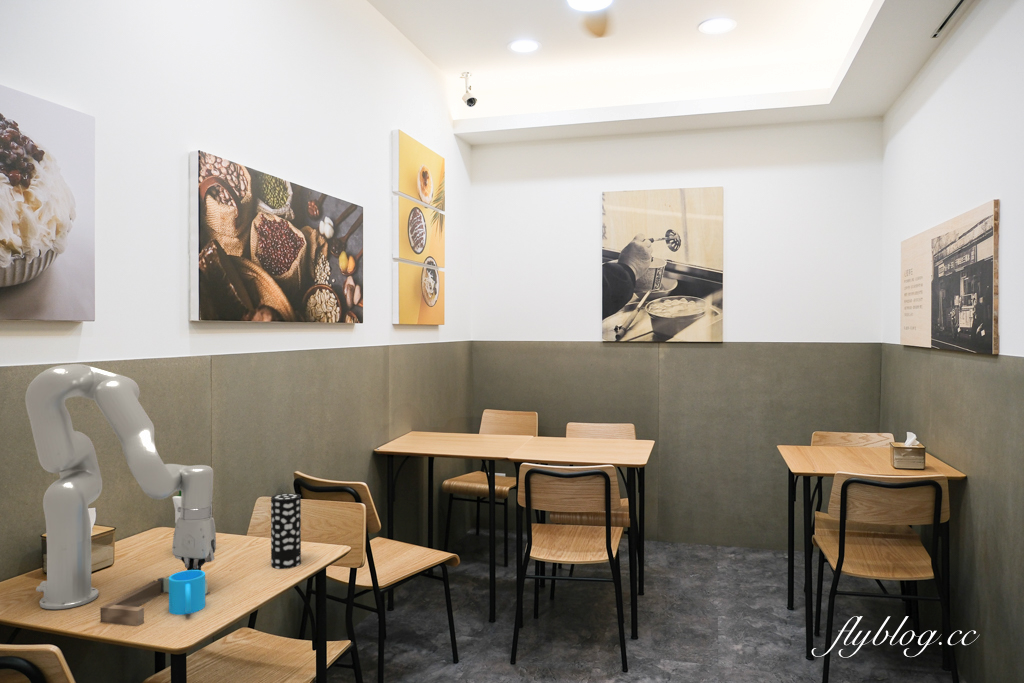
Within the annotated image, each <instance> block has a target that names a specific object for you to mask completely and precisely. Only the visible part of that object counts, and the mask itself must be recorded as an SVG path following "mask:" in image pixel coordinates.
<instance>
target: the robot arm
mask: <svg viewBox="0 0 1024 683" xmlns="http://www.w3.org/2000/svg"><path fill="white" fill-rule="evenodd" d="M139 387H140V386H139V385H138V383H137V382H136V381H135V380H133V379H132V378H130V377H129V376H125V375H122V374H118V373H115V372H111V371H108V370H104V369H101V368H98V367H95V366H90V365H87V364H83V363H72V364H71V363H70V364H62V365H60V364H59V365H56V366H52V367H50V368H47V369H45V370H44V371H42V372H40V373H39V374H37V375H36V376H35V377H34V378H33V380H31V382H30V383H29V385H28V387H27V390H26V391H25V397H24V398H25V407H26V411H27V415H28V419H29V423H30V427H31V432H32V433H31V434H32V436H33V441H34V445H35V449H36V454H37V458H38V462H39V464H40V466H41V467H42V469H43V470H45V471H46V472H48V473H52V474H59V479H56V480H55V481H54V482H52V483H51V484H50V485H49V486H48V488H47V489H46V491H45V492H44V496H43V498H42V499H43V500H42V508H43V513H44V519H45V529H46V580H42V581H41V582H40V584H39V585H38V586H36V589H35V591H36V592H38V593H39V592H41V593H43V597H42V598H41V599H39V606H40V608H42V609H45V610H64V609H71V608H75V607H79V606H83V605H86V604H89V603H91V602H92V601H94V600H95V599H97V598H98V597H99V590H98V589H97V588H95V587H93V586H92V523H91V517H90V513H89V505H91V504H92V503H94V502H95V501H96V500H97V499H99V497H100V495H101V493H102V491H103V479H102V474H101V470H100V465H99V462H98V457H97V454H96V453H97V452H96V449H95V446H94V443H93V442H92V440H91V439H90V437H89V436H88V435H86V434H85V433H83V432H81V431H79V430H78V431H77V430H74V426H73V421H72V418H71V414H70V412H69V410H68V408H67V406H66V400H68V399H69V398H75V397H81V398H84V399H88V400H93V401H94V402H95V404H96V406H97V407H98V409H99V410H100V412H101V413H102V415H103V416H104V418H105V420H106V422H107V423H108V424H109V426H110V427H111V429H112V430H113V433H114V434H115V436H116V437H117V439H118V441H119V442H120V444H121V448H122V452H123V455H124V457H125V460H126V463H127V466H128V468H129V471H130V472H131V475H132V476H133V478H134V479H135V481H136V482H137V483H138V486H140V488H141V489H142V492H144V493H145V494H146V495H147V496H148V497H150V498H151V499H153V500H165V499H166V498H169V497H171V496H172V495H173V494H174V493H176V492H179V490H181V492H182V493H181V507H178V509H177V511H178V512H180V516H181V517H179V518H178V519H177V522H176V526H175V525H174V531H173V536H172V537H173V538H172V546H171V548H172V549H171V552H172V555H174V558H175V559H178V560H180V561H181V562H182V563H183V564H184V567H185V569H186V570H201V571H202V566H204V564H205V563H211V562H213V561H215V553H216V549H217V537H216V536H217V533H216V525H215V524H216V523H215V518H214V517H212V516H213V514H212V513H213V490H214V489H213V488H214V487H213V486H214V469H213V468H212V467H211V466H210V465H206V464H195V465H194V464H193V465H185V464H184V465H183V464H179V463H178V464H177V463H164V461H163V460H162V458H161V456H160V455H159V453H158V450H157V446H156V443H155V426H154V423H153V422H152V420H151V419H150V417H149V416H148V414H147V412H146V411H145V409H144V407H143V406H142V405H141V403H140V402H139V399H140V398H139V397H140V388H139Z"/></svg>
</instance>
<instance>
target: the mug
mask: <svg viewBox="0 0 1024 683" xmlns="http://www.w3.org/2000/svg"><path fill="white" fill-rule="evenodd" d="M169 576H170V577H169V592H168V613H169V614H172V615H178V616H181V615H190V614H194V613H197V612H200V611H201V610H203V609H205V606H206V596H205V579H206V572H205V571H204V570H202V569H201V570H187V569H186V570H181V571H178V572H175V573H173V574H171V575H169ZM199 610H200V611H199Z"/></svg>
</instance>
